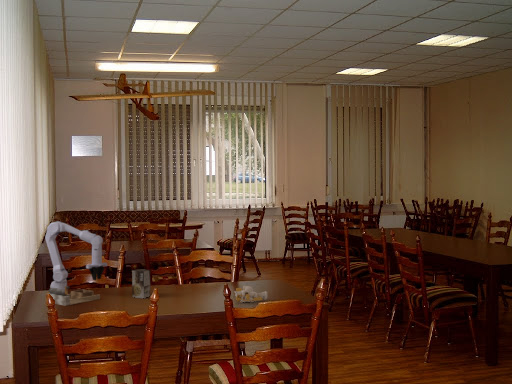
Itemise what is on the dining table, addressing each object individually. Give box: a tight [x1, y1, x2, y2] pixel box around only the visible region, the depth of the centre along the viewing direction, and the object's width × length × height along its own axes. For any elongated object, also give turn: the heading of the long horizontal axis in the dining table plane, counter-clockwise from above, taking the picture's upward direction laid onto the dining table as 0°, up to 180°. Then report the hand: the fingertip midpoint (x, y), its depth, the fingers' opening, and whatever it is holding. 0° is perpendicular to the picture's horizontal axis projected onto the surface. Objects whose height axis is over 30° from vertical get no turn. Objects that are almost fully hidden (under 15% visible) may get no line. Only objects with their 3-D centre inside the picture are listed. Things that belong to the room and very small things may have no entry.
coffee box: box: [131, 268, 151, 299], centre depth 403 cm, size 9×6×16 cm
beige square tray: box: [70, 289, 95, 299], centre depth 393 cm, size 9×9×4 cm
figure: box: [233, 285, 268, 303], centre depth 393 cm, size 17×18×9 cm
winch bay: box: [46, 285, 101, 307], centre depth 388 cm, size 16×25×11 cm, turn 146°
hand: (96, 279), depth 402 cm, fingers open, 3 cm apart
